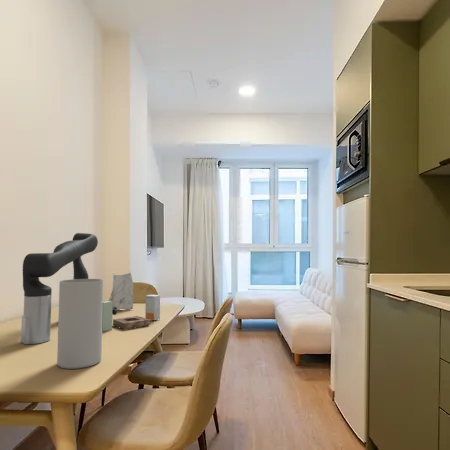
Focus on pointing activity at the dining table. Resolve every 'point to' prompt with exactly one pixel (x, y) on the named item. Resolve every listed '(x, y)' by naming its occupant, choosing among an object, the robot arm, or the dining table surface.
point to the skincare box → (152, 307)
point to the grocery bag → (122, 291)
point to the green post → (107, 315)
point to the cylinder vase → (80, 323)
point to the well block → (131, 322)
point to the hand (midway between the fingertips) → (106, 313)
